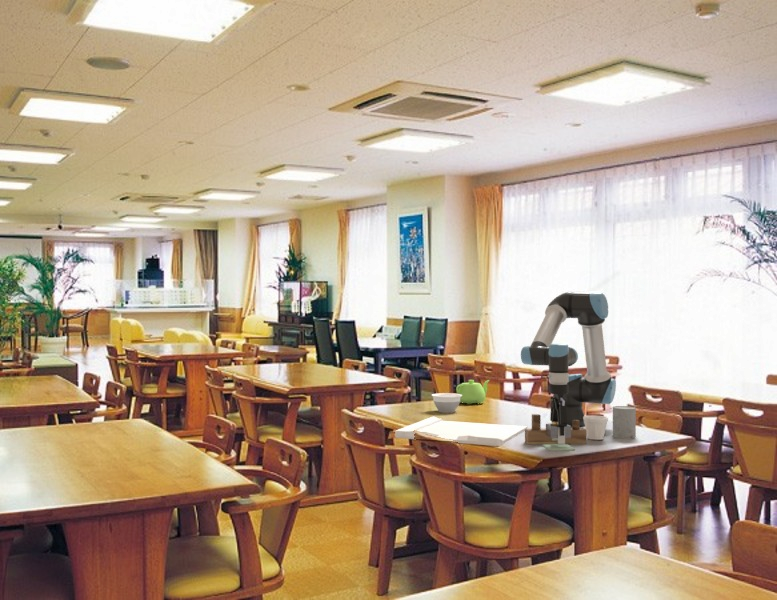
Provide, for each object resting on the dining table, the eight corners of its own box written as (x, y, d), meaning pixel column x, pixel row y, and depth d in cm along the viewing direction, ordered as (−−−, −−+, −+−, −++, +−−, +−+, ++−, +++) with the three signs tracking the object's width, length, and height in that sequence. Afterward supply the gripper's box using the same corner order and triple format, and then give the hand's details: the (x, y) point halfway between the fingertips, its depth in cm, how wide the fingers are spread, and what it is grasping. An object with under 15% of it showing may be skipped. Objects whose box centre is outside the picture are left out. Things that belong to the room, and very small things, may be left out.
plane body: (524, 442, 324) (524, 413, 324) (582, 441, 326) (582, 413, 326) (527, 444, 319) (527, 415, 319) (586, 443, 321) (586, 415, 321)
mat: (542, 445, 316) (542, 444, 316) (567, 445, 317) (567, 443, 317) (549, 450, 306) (549, 449, 306) (574, 450, 307) (574, 448, 307)
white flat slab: (527, 430, 357) (527, 422, 357) (499, 447, 315) (499, 438, 315) (433, 423, 375) (433, 416, 375) (395, 439, 334) (395, 430, 334)
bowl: (468, 411, 411) (468, 395, 411) (446, 414, 401) (446, 397, 401) (447, 408, 423) (447, 392, 423) (425, 411, 413) (425, 394, 413)
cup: (607, 442, 325) (607, 419, 325) (582, 440, 328) (582, 418, 328) (608, 437, 334) (608, 415, 334) (584, 436, 337) (584, 414, 337)
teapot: (483, 400, 455) (483, 377, 455) (497, 403, 442) (497, 380, 442) (449, 402, 446) (449, 379, 446) (462, 406, 433) (462, 381, 433)
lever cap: (545, 435, 315) (545, 420, 315) (565, 434, 315) (565, 420, 315) (550, 438, 308) (550, 423, 308) (571, 437, 308) (571, 423, 308)
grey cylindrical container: (637, 438, 332) (637, 409, 332) (613, 438, 334) (613, 408, 334) (634, 435, 342) (634, 406, 341) (611, 434, 343) (611, 405, 343)
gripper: (542, 380, 321) (542, 437, 321) (556, 386, 301) (556, 446, 301) (560, 380, 322) (560, 437, 322) (575, 386, 302) (575, 446, 302)
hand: (558, 441), depth 311 cm, fingers closed on lever cap, 7 cm apart
